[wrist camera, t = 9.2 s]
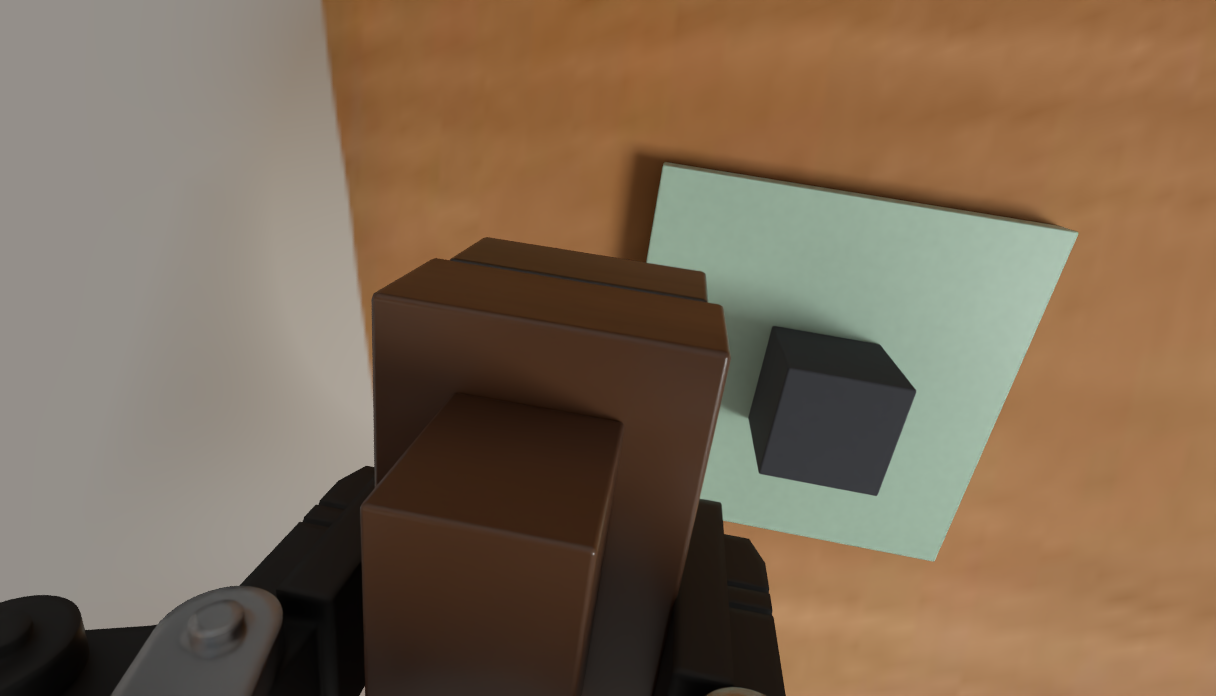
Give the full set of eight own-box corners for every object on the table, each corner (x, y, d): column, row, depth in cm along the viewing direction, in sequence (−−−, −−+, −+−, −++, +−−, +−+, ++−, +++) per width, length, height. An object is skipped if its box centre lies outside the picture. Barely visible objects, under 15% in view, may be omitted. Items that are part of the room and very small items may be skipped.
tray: (608, 482, 28) (605, 498, 27) (663, 161, 22) (662, 164, 21) (924, 543, 27) (934, 562, 26) (1059, 225, 22) (1079, 232, 20)
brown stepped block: (471, 233, 10) (229, 372, 5) (720, 272, 10) (752, 468, 4) (452, 645, 13) (299, 989, 8) (635, 684, 13) (597, 1065, 8)
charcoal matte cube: (747, 418, 24) (757, 474, 21) (772, 324, 23) (788, 367, 19) (849, 437, 24) (877, 497, 21) (880, 343, 23) (917, 390, 19)
